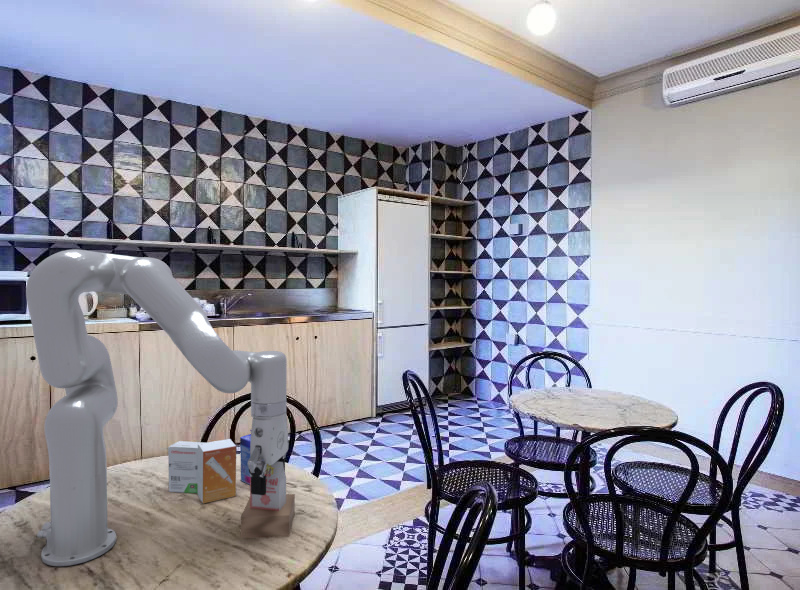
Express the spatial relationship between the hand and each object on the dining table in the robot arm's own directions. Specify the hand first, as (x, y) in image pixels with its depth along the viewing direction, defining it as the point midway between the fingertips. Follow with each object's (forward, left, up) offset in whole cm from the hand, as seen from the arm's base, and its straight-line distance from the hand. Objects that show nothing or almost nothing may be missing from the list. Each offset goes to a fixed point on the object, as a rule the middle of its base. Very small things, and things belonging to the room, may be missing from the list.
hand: (268, 484), depth 108 cm
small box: (-19, +11, -10) cm, 24 cm away
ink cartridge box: (-12, +20, -10) cm, 25 cm away
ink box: (-28, +13, -10) cm, 32 cm away
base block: (0, 0, -10) cm, 10 cm away
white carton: (0, 0, -5) cm, 5 cm away
